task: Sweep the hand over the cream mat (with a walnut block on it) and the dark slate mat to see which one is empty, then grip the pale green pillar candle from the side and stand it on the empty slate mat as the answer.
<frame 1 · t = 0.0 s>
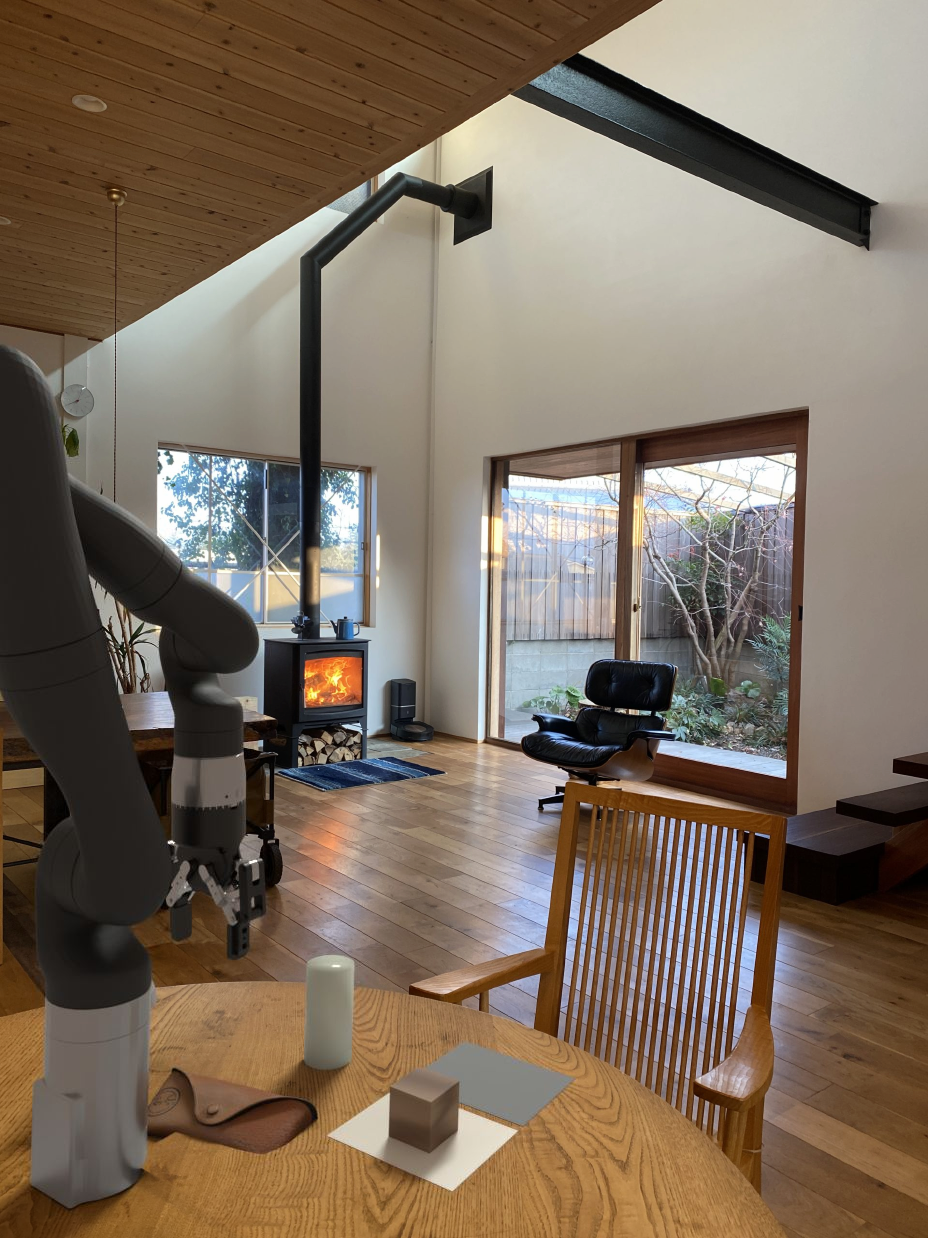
hand: (208, 948, 97), 17 cm above the table, tool pointing down, fingers open, 8 cm apart
walnut block: (423, 1133, 93), point 1 cm above the table, touching cream mat
slate mat: (490, 1089, 104), on the table
pale green pillar candle: (327, 1066, 108), on the table
sunglasses case: (221, 1136, 94), on the table
food container: (124, 1076, 104), on the table
cream mat: (423, 1143, 93), on the table
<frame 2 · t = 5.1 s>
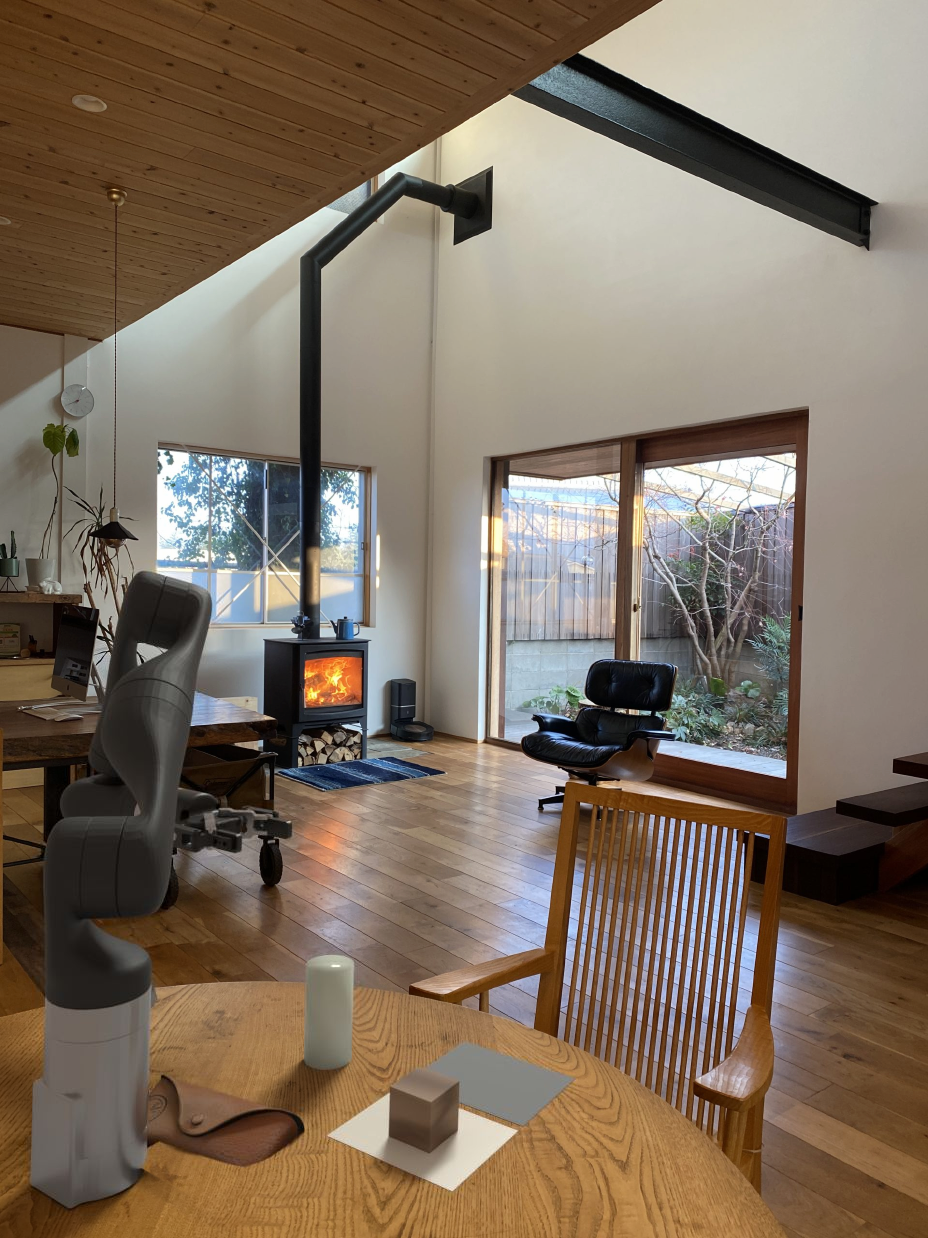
hand: (265, 837, 113), 25 cm above the table, tool horizontal, fingers open, 8 cm apart
sunglasses case: (206, 1147, 92), on the table
everything else where it was.
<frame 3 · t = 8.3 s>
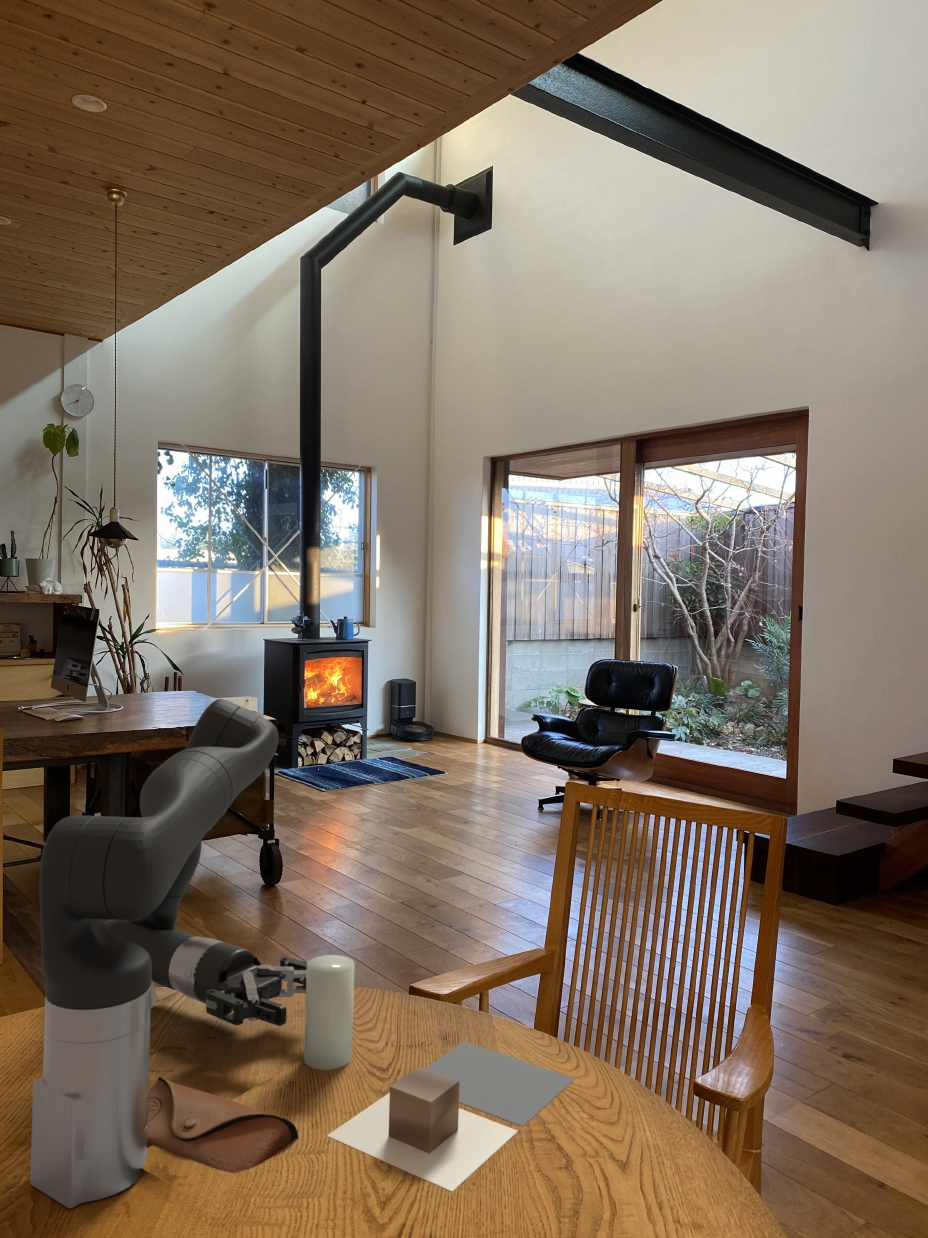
hand: (309, 1003, 110), 6 cm above the table, tool horizontal, fingers open, 8 cm apart
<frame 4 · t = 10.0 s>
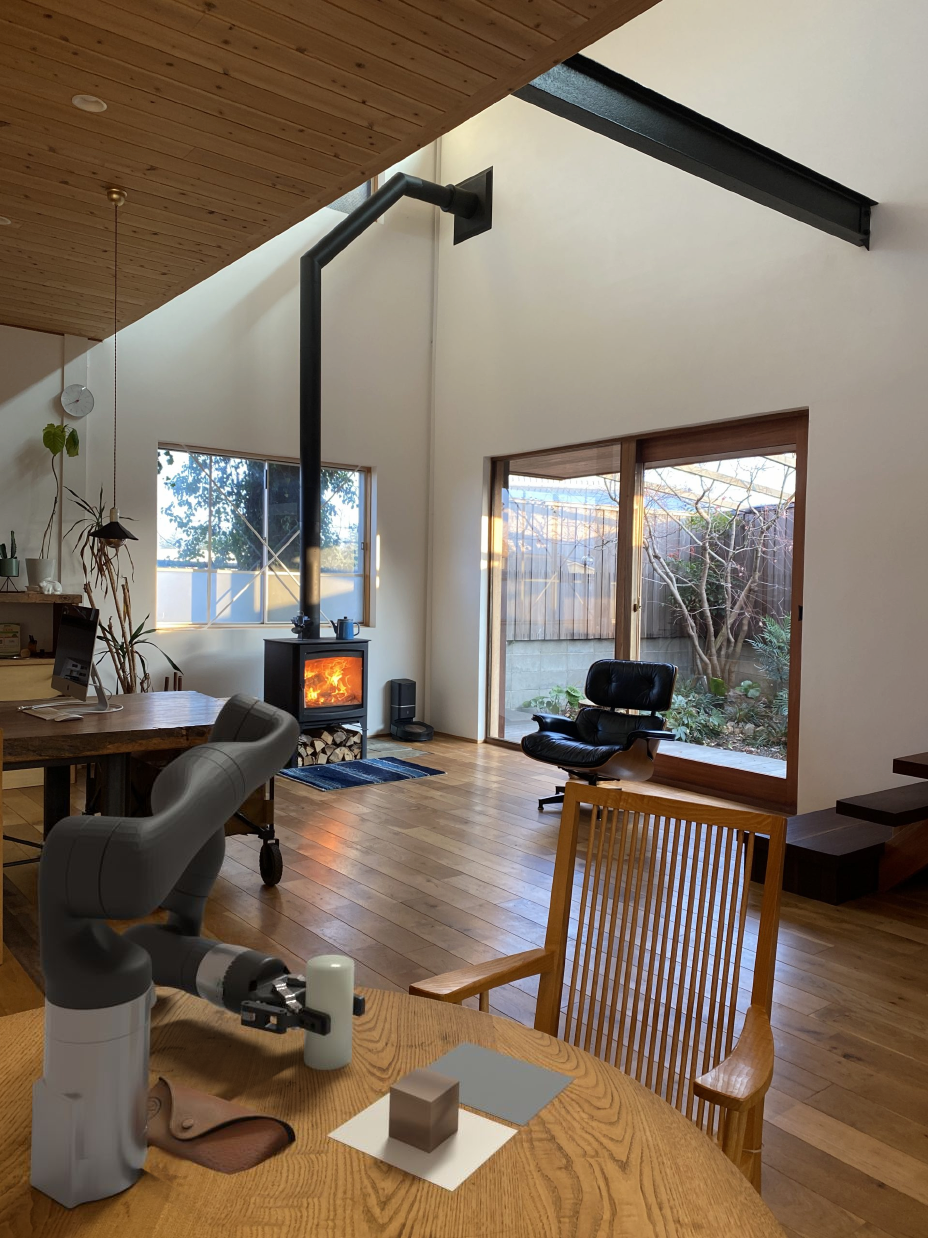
hand: (345, 1016, 106), 7 cm above the table, tool horizontal, fingers closed on pale green pillar candle, 5 cm apart
pale green pillar candle: (327, 1066, 108), on the table, touching gripper
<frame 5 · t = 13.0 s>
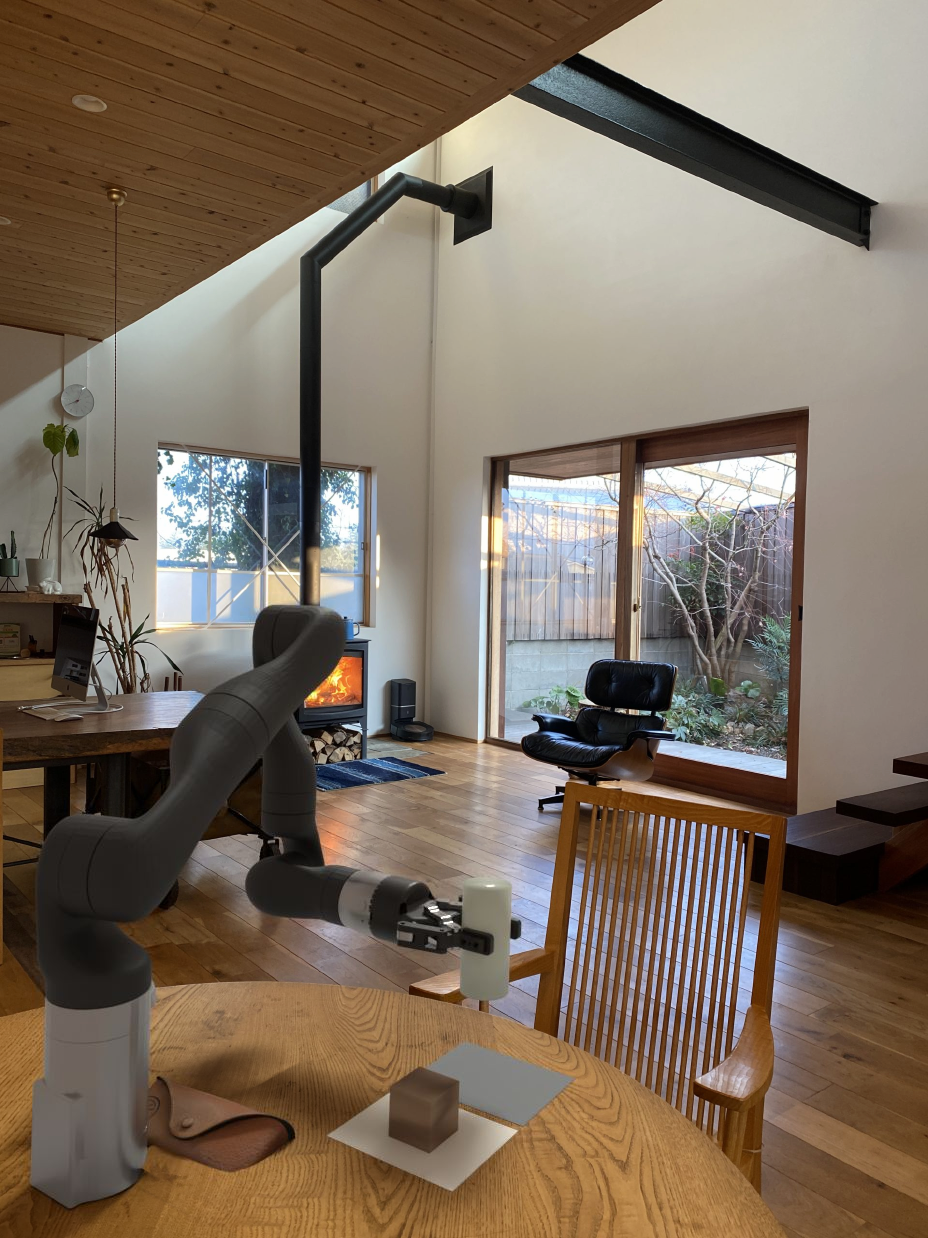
hand: (505, 937, 103), 17 cm above the table, tool horizontal, fingers closed on pale green pillar candle, 5 cm apart
pale green pillar candle: (484, 990, 104), point 11 cm above the table, touching gripper
everything else where it was.
when the fingers open (8 cm above the table, at t = 15.9 s): pale green pillar candle stays where it is, resting on slate mat.
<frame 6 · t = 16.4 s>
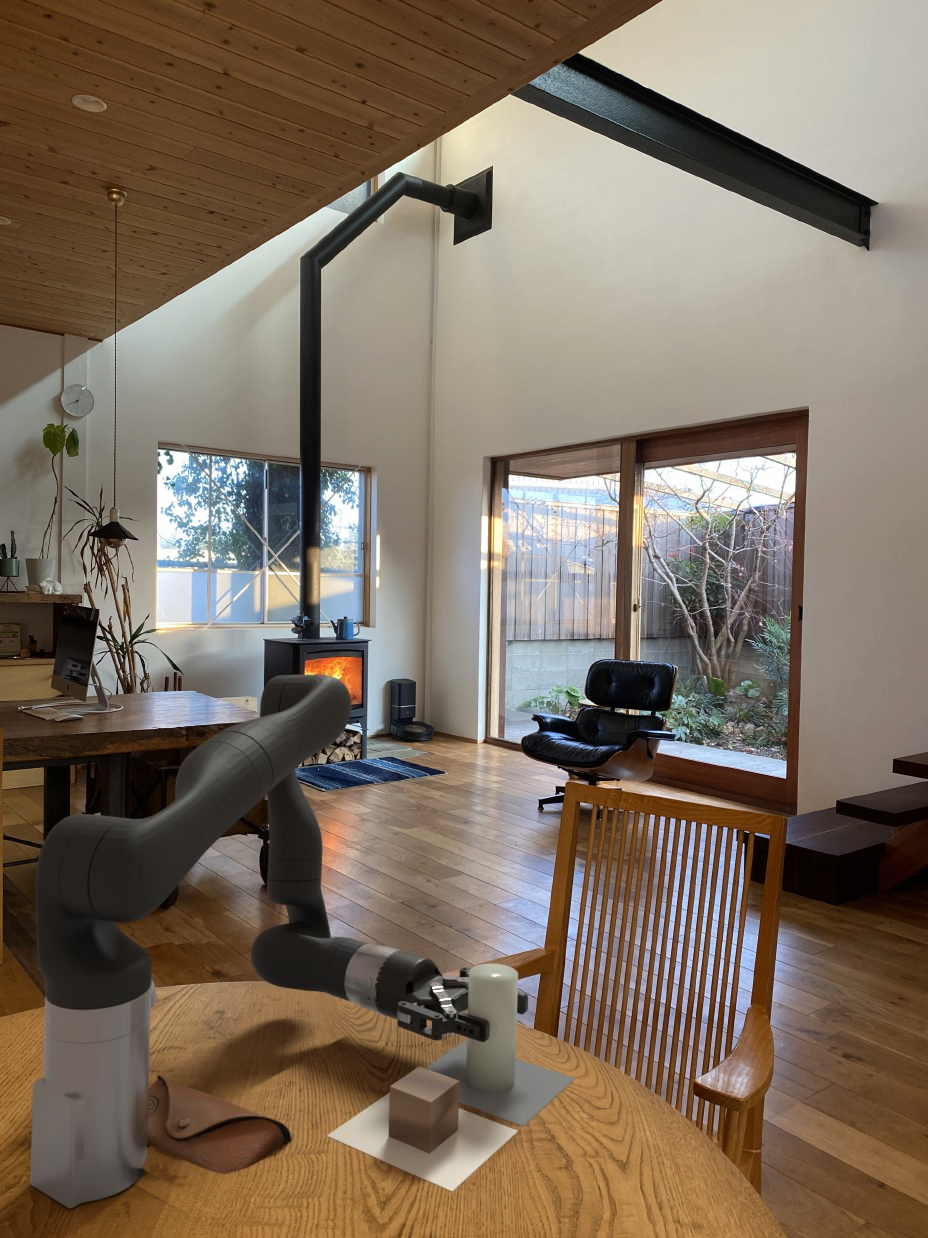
hand: (507, 1018, 103), 8 cm above the table, tool horizontal, fingers open, 8 cm apart
pale green pillar candle: (490, 1079, 104), point 1 cm above the table, touching slate mat
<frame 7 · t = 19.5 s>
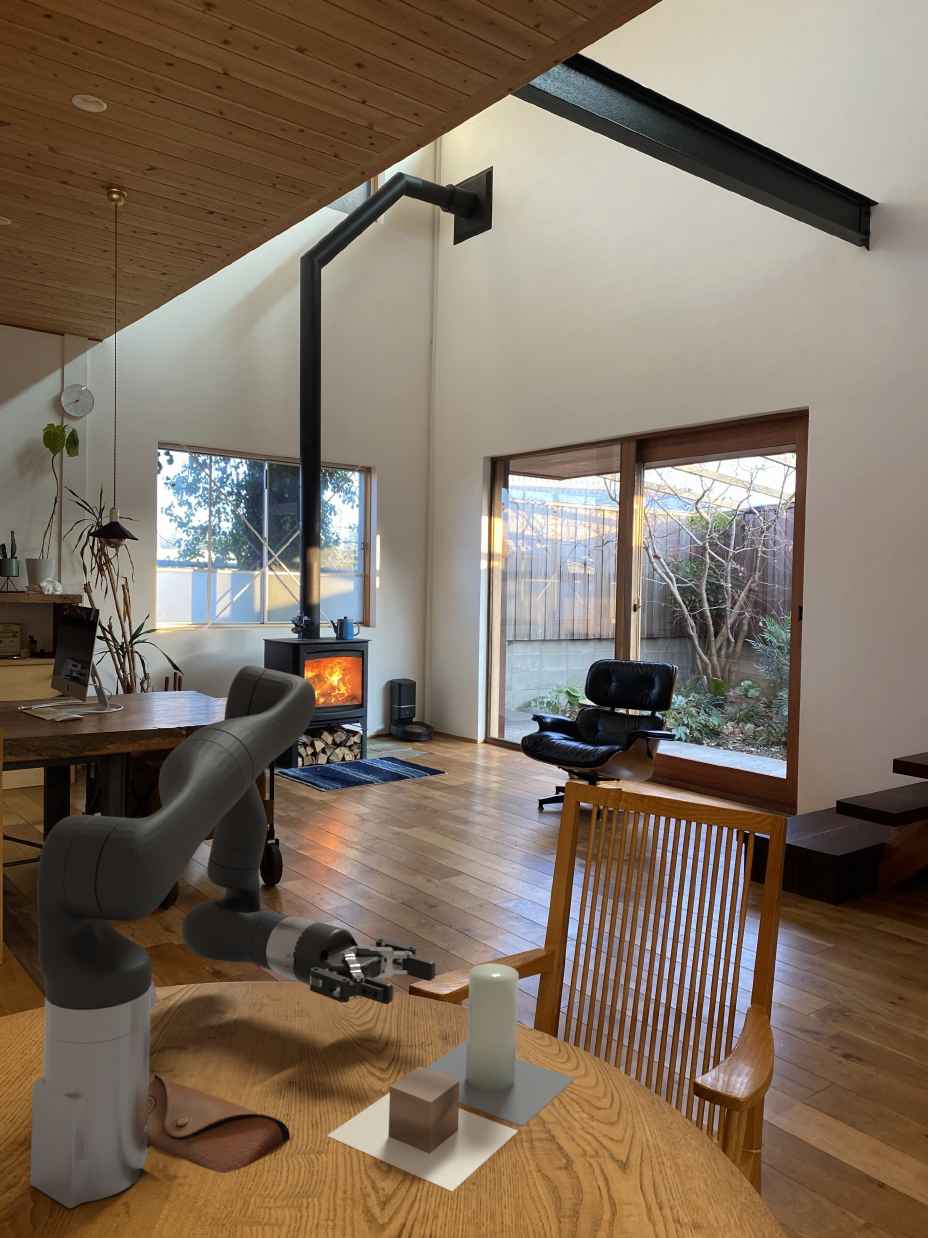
hand: (412, 983, 110), 9 cm above the table, tool horizontal, fingers open, 8 cm apart
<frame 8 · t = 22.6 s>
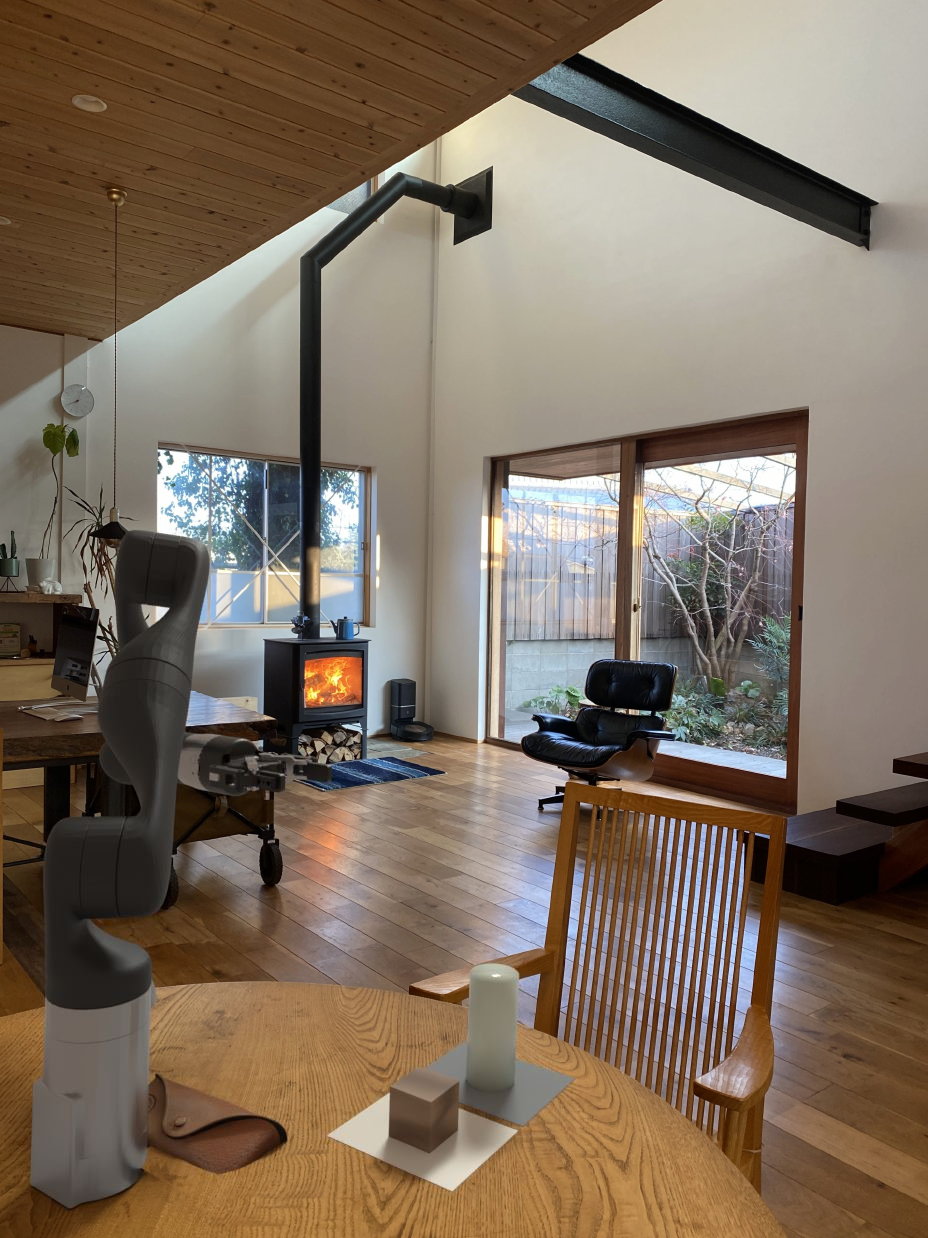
hand: (307, 778, 115), 32 cm above the table, tool horizontal, fingers open, 8 cm apart
at the end: pale green pillar candle inside the target area on the slate mat (0.1 cm from its centre), point 1.1 cm above the slate mat's base; pale green pillar candle tilted 1°; the gripper is holding nothing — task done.
